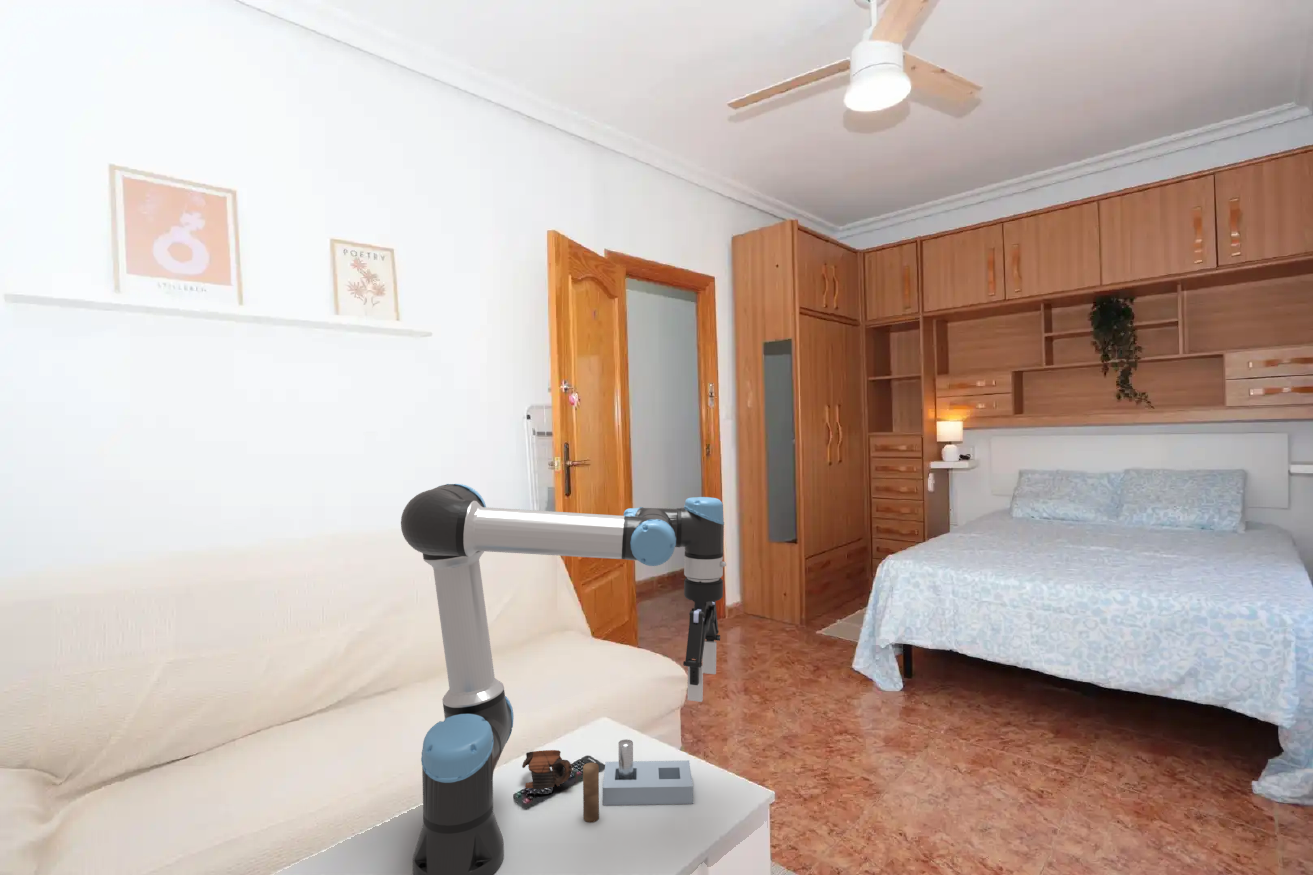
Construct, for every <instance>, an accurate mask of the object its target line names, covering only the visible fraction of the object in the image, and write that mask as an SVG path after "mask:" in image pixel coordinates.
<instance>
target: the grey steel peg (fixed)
mask: <svg viewBox="0 0 1313 875" xmlns="http://www.w3.org/2000/svg"><path fill="white" fill-rule="evenodd" d="M633 761H634V742H633V740H632V739H631V740H630V739H628V738H627V739H622V740H619V741H618V762H619V780H633Z"/></svg>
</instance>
